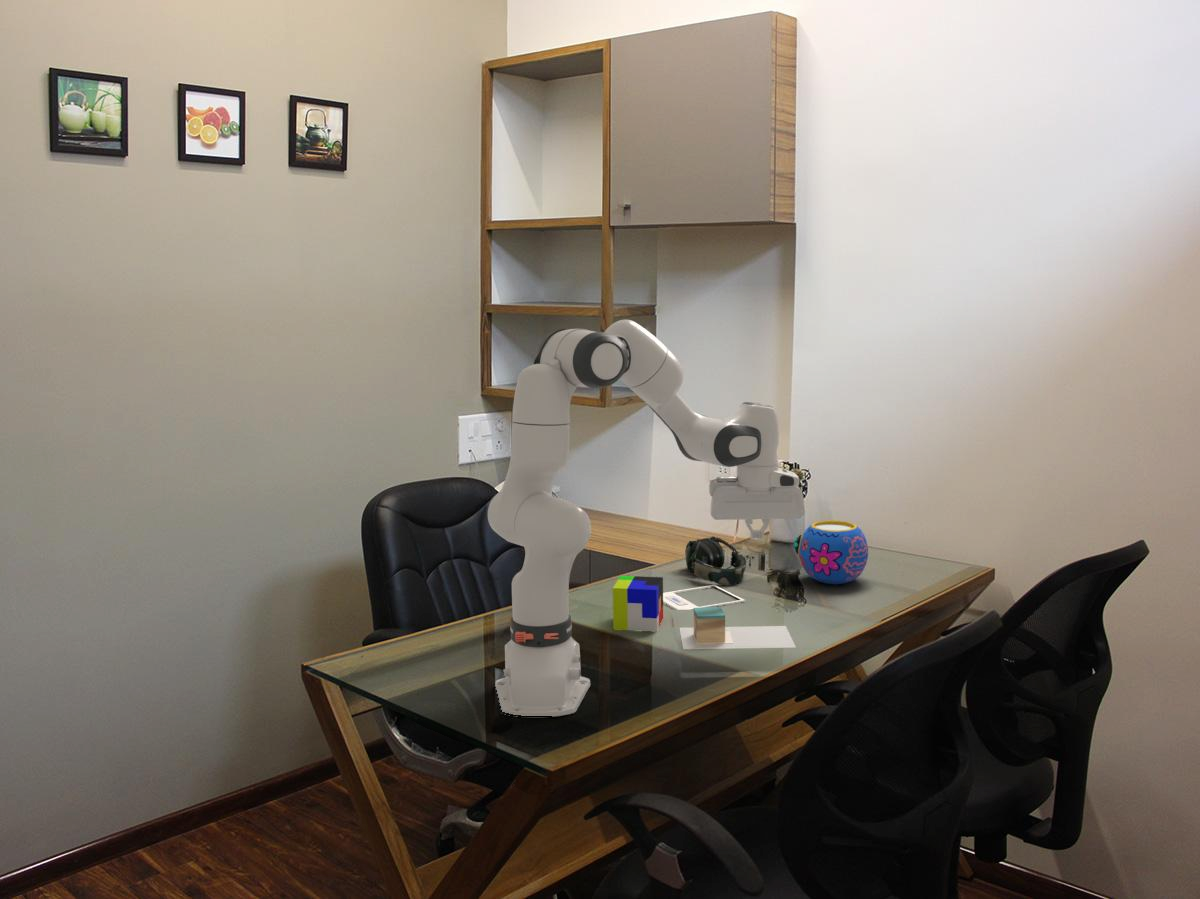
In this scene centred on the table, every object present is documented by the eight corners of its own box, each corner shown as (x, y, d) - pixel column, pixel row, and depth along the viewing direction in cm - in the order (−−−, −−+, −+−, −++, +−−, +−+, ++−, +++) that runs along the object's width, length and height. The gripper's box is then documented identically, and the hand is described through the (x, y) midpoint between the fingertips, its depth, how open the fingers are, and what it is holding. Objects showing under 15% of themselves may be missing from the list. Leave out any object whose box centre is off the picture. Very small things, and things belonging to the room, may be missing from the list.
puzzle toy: (656, 632, 249) (656, 589, 247) (613, 630, 251) (612, 588, 249) (663, 618, 258) (662, 577, 256) (621, 616, 260) (620, 575, 259)
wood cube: (697, 616, 237) (697, 643, 238) (725, 615, 237) (725, 642, 238) (693, 607, 243) (693, 633, 244) (720, 606, 243) (720, 632, 244)
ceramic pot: (827, 568, 297) (827, 514, 294) (881, 582, 283) (883, 525, 281) (783, 581, 286) (784, 525, 283) (838, 596, 272) (839, 537, 270)
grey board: (796, 652, 234) (796, 647, 234) (683, 653, 235) (683, 648, 234) (785, 630, 248) (785, 625, 248) (679, 631, 248) (679, 627, 248)
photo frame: (652, 593, 275) (714, 584, 282) (652, 598, 275) (714, 588, 282) (680, 610, 262) (745, 599, 269) (680, 614, 262) (745, 603, 269)
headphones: (662, 554, 293) (712, 581, 278) (692, 515, 296) (743, 540, 281) (685, 580, 301) (735, 608, 286) (714, 542, 304) (765, 568, 289)
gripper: (710, 479, 235) (710, 542, 237) (806, 478, 234) (805, 541, 237) (708, 474, 241) (708, 535, 243) (801, 473, 241) (800, 534, 243)
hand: (757, 538), depth 240 cm, fingers closed
